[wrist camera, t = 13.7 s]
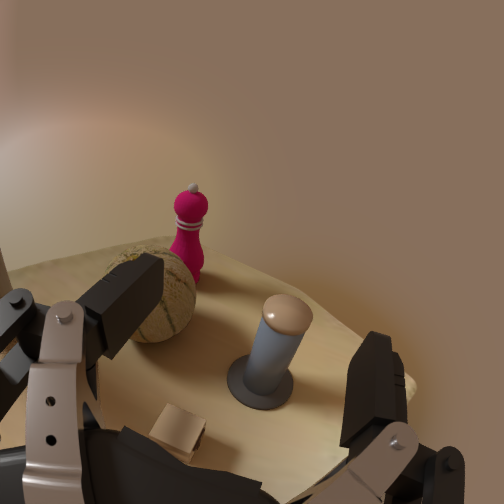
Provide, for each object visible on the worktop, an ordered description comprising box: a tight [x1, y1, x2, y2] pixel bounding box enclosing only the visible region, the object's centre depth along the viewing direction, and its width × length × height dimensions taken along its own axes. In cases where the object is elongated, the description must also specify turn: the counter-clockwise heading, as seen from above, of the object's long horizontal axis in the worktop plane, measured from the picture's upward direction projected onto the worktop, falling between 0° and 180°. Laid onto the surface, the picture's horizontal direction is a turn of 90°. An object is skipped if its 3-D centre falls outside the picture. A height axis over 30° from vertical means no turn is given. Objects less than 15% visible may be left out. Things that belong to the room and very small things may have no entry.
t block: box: [149, 403, 206, 464], centre depth 29 cm, size 5×5×5 cm
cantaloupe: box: [103, 245, 196, 343], centre depth 42 cm, size 15×15×15 cm
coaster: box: [227, 355, 293, 410], centre depth 41 cm, size 10×10×1 cm
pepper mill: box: [169, 183, 208, 284], centre depth 53 cm, size 7×7×20 cm
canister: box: [243, 294, 313, 396], centre depth 37 cm, size 6×6×15 cm
